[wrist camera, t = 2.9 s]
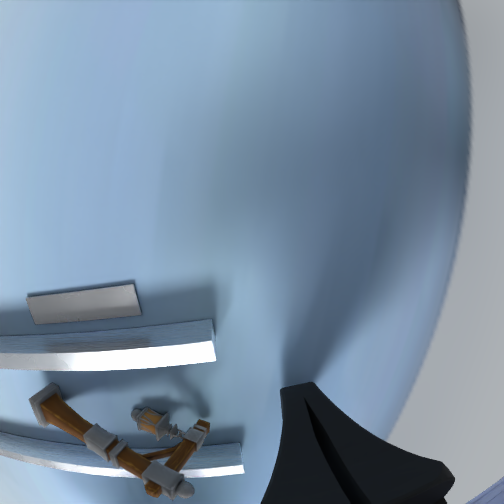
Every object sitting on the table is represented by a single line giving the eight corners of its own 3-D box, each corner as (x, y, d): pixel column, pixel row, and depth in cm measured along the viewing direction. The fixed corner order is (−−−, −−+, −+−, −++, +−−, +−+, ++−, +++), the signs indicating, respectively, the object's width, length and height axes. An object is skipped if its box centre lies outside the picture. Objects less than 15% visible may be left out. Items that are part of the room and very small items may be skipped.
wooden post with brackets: (226, 444, 12) (184, 517, 8) (91, 384, 14) (36, 427, 10) (230, 420, 12) (183, 499, 7) (86, 358, 14) (25, 400, 9)
